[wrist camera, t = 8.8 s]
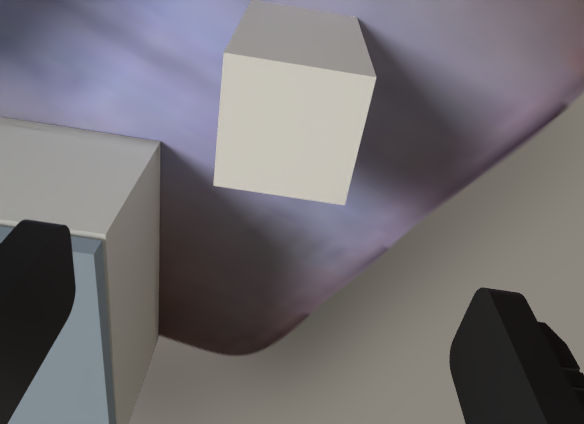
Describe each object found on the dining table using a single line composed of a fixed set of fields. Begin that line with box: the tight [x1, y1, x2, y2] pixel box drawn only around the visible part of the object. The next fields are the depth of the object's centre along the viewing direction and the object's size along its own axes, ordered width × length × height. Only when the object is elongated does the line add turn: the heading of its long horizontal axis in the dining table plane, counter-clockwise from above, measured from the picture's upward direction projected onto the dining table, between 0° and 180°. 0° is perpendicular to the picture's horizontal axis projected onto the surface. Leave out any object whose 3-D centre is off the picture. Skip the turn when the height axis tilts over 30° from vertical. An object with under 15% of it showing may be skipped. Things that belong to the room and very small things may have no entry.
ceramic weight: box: [213, 0, 377, 205], centre depth 19 cm, size 4×4×8 cm
